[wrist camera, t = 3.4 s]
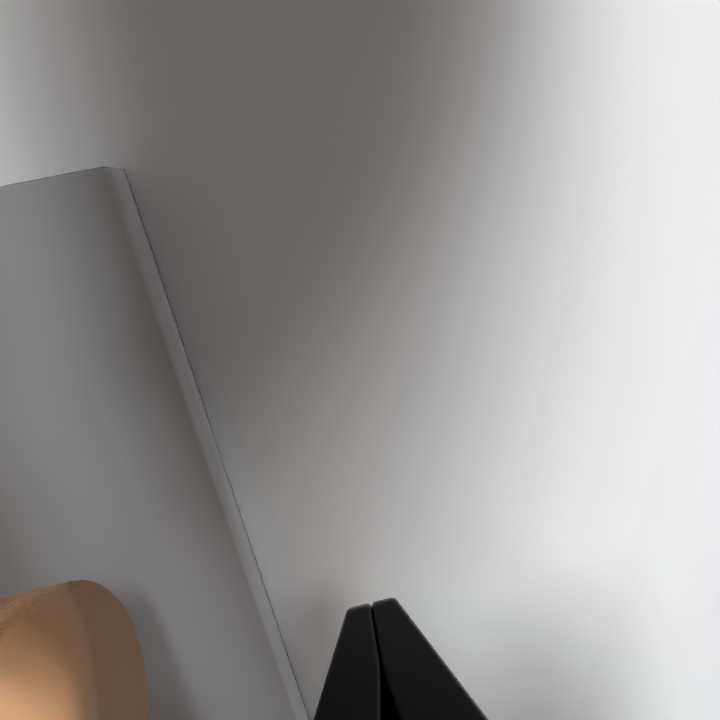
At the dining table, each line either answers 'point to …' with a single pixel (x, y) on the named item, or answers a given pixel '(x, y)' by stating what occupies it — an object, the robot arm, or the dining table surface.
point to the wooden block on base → (123, 454)
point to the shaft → (70, 656)
